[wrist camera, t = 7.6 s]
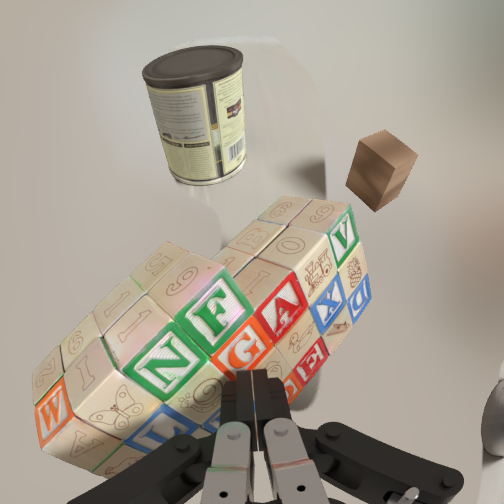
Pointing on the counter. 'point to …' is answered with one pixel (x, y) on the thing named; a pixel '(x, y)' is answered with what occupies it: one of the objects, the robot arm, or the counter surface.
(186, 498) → the robot arm
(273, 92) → the counter surface
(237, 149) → the coffee can
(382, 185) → the walnut block
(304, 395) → the counter surface
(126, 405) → the stack of blocks
